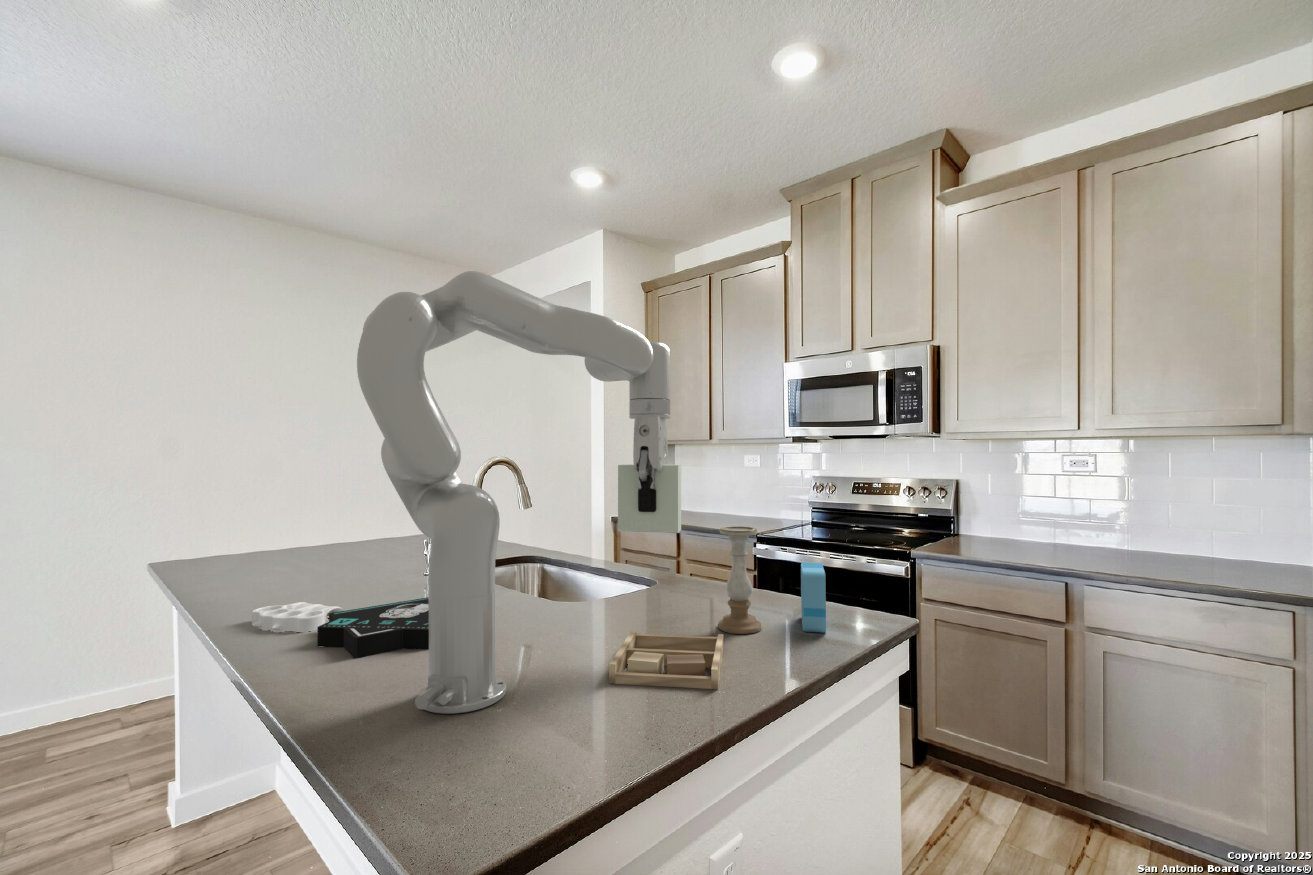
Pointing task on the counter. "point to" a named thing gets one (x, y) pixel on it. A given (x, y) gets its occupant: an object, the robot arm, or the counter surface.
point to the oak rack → (667, 646)
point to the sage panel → (666, 501)
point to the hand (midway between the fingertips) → (649, 509)
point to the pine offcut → (646, 663)
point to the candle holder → (739, 584)
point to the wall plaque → (378, 628)
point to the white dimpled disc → (292, 617)
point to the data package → (813, 597)
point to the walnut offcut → (686, 665)
